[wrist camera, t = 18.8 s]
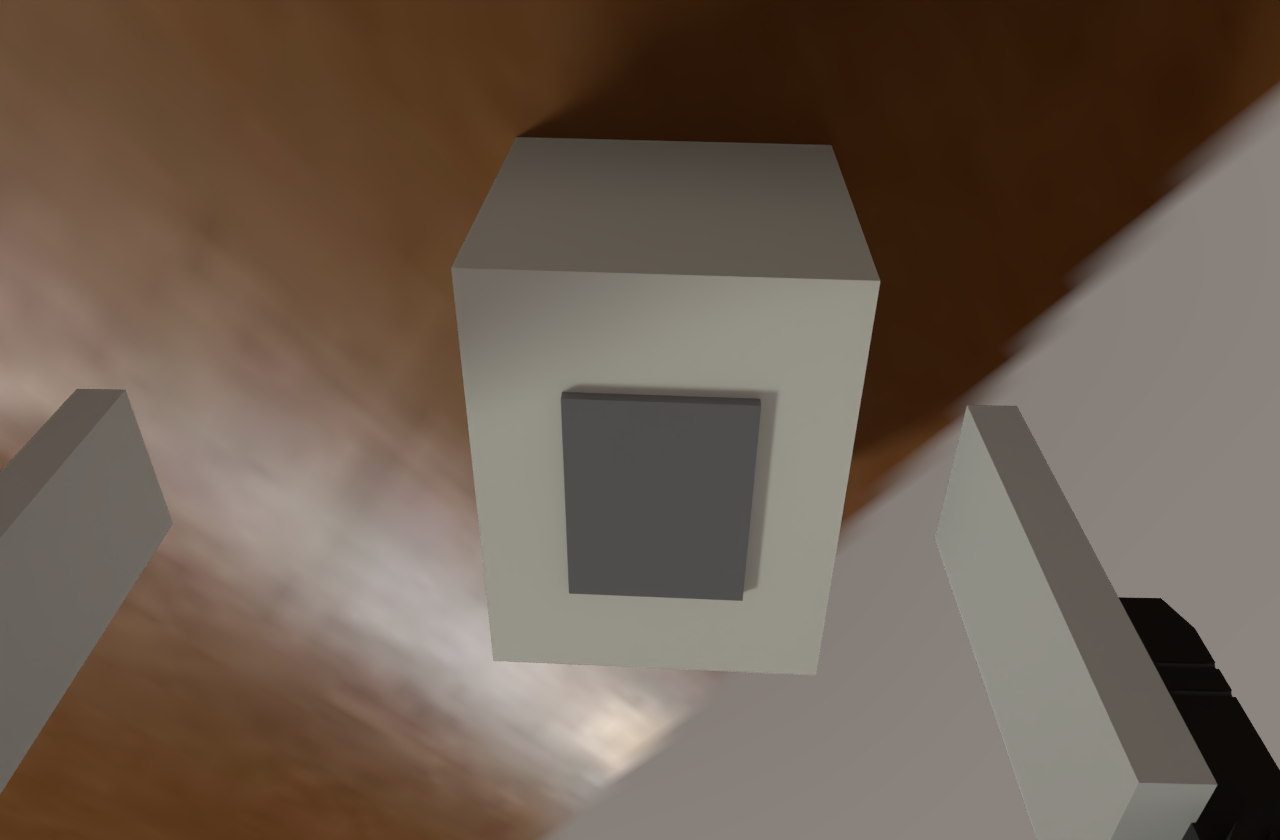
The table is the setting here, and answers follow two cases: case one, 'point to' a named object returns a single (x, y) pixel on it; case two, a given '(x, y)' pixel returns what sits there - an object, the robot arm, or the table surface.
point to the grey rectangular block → (663, 398)
